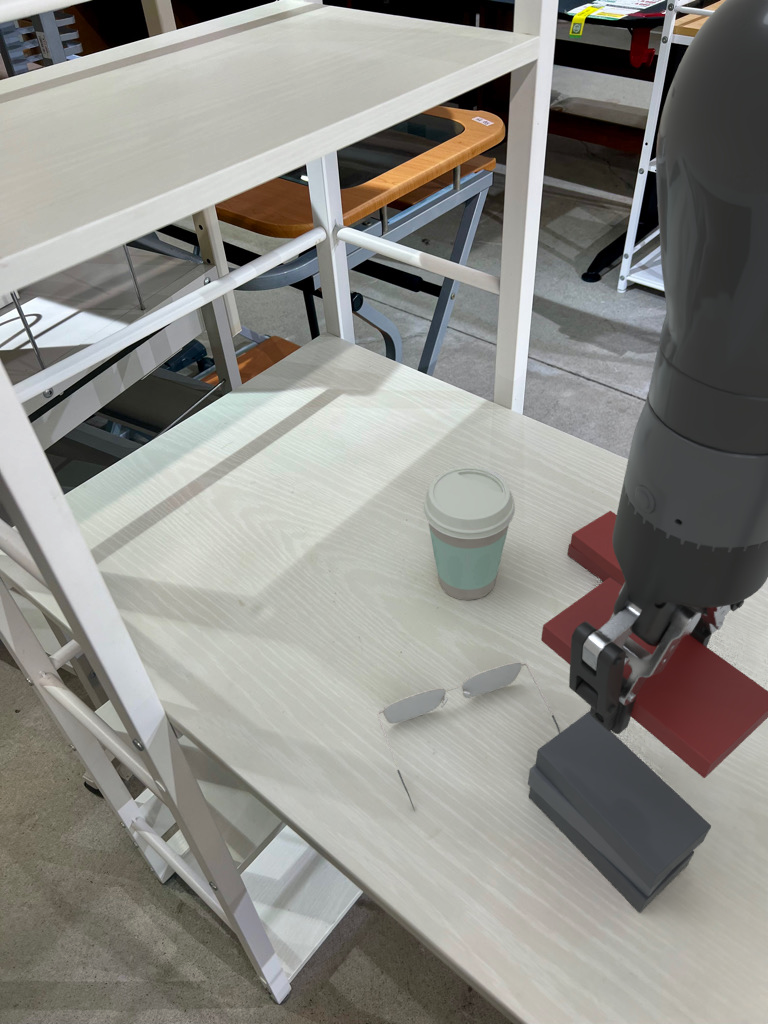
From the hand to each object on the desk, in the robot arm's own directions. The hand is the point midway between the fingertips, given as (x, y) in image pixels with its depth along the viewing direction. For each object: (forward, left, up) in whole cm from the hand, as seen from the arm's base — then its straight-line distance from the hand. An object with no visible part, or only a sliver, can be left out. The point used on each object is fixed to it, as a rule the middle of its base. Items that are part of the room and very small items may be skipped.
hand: (645, 689), depth 46 cm
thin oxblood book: (0, 0, +1) cm, 1 cm away
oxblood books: (+15, -21, -18) cm, 31 cm away
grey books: (-1, +1, -18) cm, 18 cm away
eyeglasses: (+11, +4, -18) cm, 21 cm away
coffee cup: (+25, -8, -18) cm, 32 cm away
